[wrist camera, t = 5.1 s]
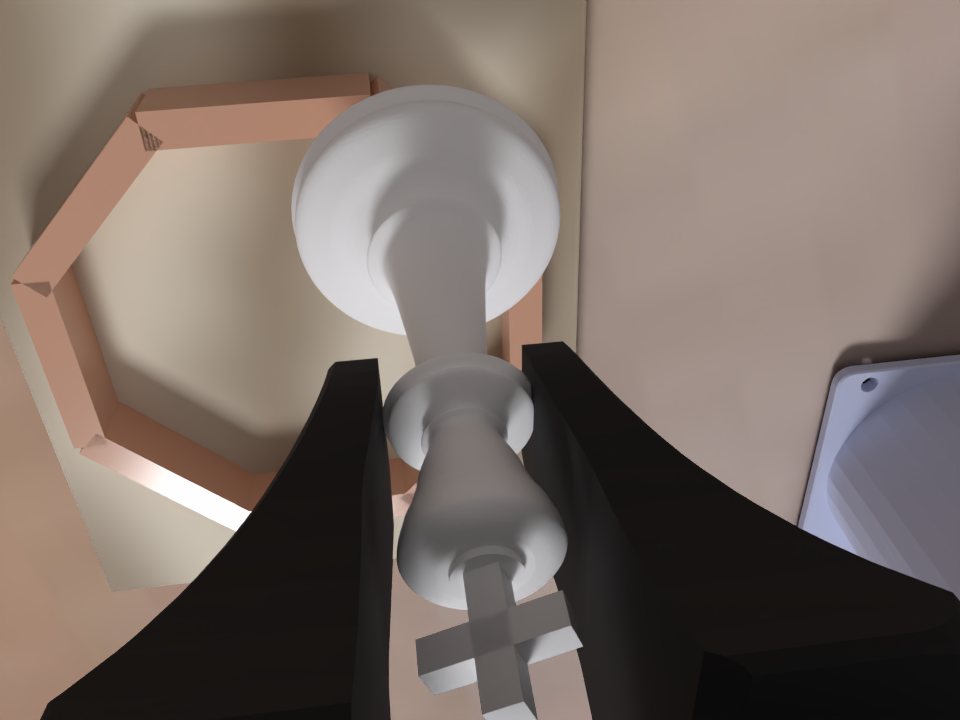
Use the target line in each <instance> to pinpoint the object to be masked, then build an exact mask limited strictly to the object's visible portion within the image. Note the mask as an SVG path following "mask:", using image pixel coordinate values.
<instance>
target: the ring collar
mask: <svg viewBox="0 0 960 720" xmlns="http://www.w3.org/2000/svg"><path fill="white" fill-rule="evenodd" d="M391 89H393V88H392V87H391V86H390V85H388V84H387V83H386V82H385V81H384V80H382V79H381V78H380V77H379V76H378V75H377V76H376V78H375V79H374V80H373V81H372V82H371V84H370V78H369V73H355V74H342V75H328V76H314V77H301V78H287V79H274V80H260V81H246V82H233V83H219V84H206V85H192V86H178V87H165V88H151V89H149V90H148V91H147V93H146V95H144V94H143V93H141V94H140V95H139V97H138V98H137V100H136V101H135V102H134V104H133V105H132V107H131V108H130V109H129V111H128V112H127V114H126V115H125V116H124V118H123V119H122V121H121V122H120V123H119V125H118V126H117V127H116V129H115V130H114V132H113V133H112V134H111V136H110V137H109V139H108V140H107V141H106V143H105V144H104V146H103V147H102V148H101V150H100V151H99V153H98V154H97V155H96V157H95V158H94V159H93V161H92V162H91V164H90V165H89V166H88V168H87V169H86V171H85V172H84V173H83V175H82V176H81V178H80V179H79V180H78V182H77V183H76V185H75V186H74V187H73V189H72V190H71V191H70V193H69V194H68V196H67V197H66V198H65V200H64V201H63V203H62V204H61V205H60V207H59V208H58V210H57V211H56V212H55V214H54V215H53V217H52V218H51V219H50V221H49V222H48V223H47V225H46V226H45V228H44V229H43V230H42V232H41V233H40V235H39V236H38V237H37V239H36V240H35V242H34V243H33V244H32V246H31V247H30V249H29V250H28V252H27V254H26V255H25V257H24V258H23V260H22V261H21V263H20V264H19V266H18V267H17V269H16V271H15V272H14V274H13V275H12V278H13V279H14V280H13V281H12V283H11V288H12V290H13V293H14V295H15V298H16V300H17V303H18V306H19V308H20V311H21V313H22V316H23V318H24V321H25V324H26V326H27V329H28V331H29V334H30V336H31V339H32V342H33V344H34V347H35V349H36V352H37V355H38V357H39V360H40V362H41V365H42V367H43V370H44V373H45V375H46V378H47V380H48V383H49V385H50V388H51V391H52V393H53V396H54V398H55V401H56V403H57V406H58V409H59V411H60V414H61V416H62V419H63V422H64V424H65V427H66V429H67V432H68V434H69V437H70V440H71V442H72V445H73V447H74V449H75V448H81V450H80V453H79V454H81V455H83V456H85V457H87V458H89V459H91V460H93V461H95V462H97V463H99V464H101V465H103V466H105V467H107V468H109V469H111V470H113V471H115V472H117V473H119V474H121V475H123V476H125V477H127V478H129V479H131V480H133V481H135V482H137V483H139V484H141V485H143V486H145V487H147V488H149V489H151V490H153V491H155V492H158V493H160V494H162V495H164V496H166V497H168V498H170V499H172V500H174V501H176V502H178V503H180V504H182V505H184V506H186V507H188V508H190V509H192V510H194V511H196V512H198V513H200V514H202V515H204V516H206V517H208V518H210V519H212V520H214V521H216V522H218V523H220V524H222V525H224V526H226V527H228V528H230V529H232V530H234V531H237V530H238V528H239V527H240V526H241V524H242V523H243V522H244V521H245V519H246V518H247V517H248V515H249V514H250V513H251V511H252V510H253V508H254V507H255V506H256V504H257V503H258V501H259V500H260V499H261V497H262V496H263V494H264V493H265V491H266V490H267V488H268V486H269V485H270V483H271V482H272V480H273V479H274V477H275V476H276V474H277V472H278V471H275V472H266V473H257V474H253V473H251V472H250V471H248V470H246V469H244V468H242V467H240V466H238V465H236V464H235V463H233V462H231V461H229V460H227V459H225V458H223V457H222V456H220V455H218V454H216V453H214V452H212V451H210V450H208V449H207V448H205V447H203V446H201V445H199V444H197V443H195V442H194V441H192V440H190V439H188V438H186V437H184V436H182V435H180V434H179V433H177V432H175V431H173V430H171V429H169V428H167V427H166V426H164V425H162V424H160V423H158V422H156V421H154V420H152V419H151V418H149V417H147V416H145V415H143V414H141V413H139V412H137V411H136V410H134V409H132V408H130V407H128V406H126V405H124V404H123V403H121V402H119V401H118V399H117V396H116V394H115V391H114V388H113V385H112V382H111V379H110V376H109V373H108V370H107V367H106V364H105V361H104V358H103V355H102V352H101V349H100V346H99V343H98V340H97V337H96V334H95V331H94V328H93V325H92V322H91V319H90V317H89V314H88V311H87V308H86V305H85V302H84V299H83V296H82V293H81V290H80V287H79V284H78V281H77V278H76V275H75V272H74V269H73V266H72V263H73V262H74V261H75V259H76V258H77V257H78V255H79V254H80V253H81V251H82V250H83V249H84V247H85V246H86V245H87V243H88V242H89V241H90V239H91V238H92V237H93V235H94V234H95V233H96V231H97V230H98V228H99V227H100V226H101V224H102V223H103V222H104V220H105V219H106V218H107V216H108V215H109V214H110V212H111V211H112V210H113V208H114V207H115V206H116V204H117V203H118V202H119V200H120V199H121V198H122V196H123V195H124V194H125V192H126V191H127V190H128V188H129V187H130V186H131V184H132V183H133V182H134V180H135V179H136V178H137V176H138V175H139V174H140V172H141V171H142V170H143V168H144V167H145V166H146V164H147V163H148V162H149V160H150V159H151V158H152V156H153V155H154V154H155V152H156V151H157V150H168V149H181V148H194V147H206V146H219V145H232V144H244V143H257V142H270V141H282V140H295V139H308V138H316V137H317V136H318V135H319V133H320V132H321V131H322V130H323V129H324V128H325V127H326V126H327V125H328V124H329V123H330V122H331V121H332V120H333V119H335V118H336V117H337V116H338V115H340V114H341V113H342V112H344V111H345V110H346V109H348V108H349V107H351V106H353V105H354V104H356V103H358V102H360V101H362V100H364V99H366V98H368V97H370V96H373V95H375V94H378V93H381V92H384V91H387V90H391ZM501 338H502V359H503V360H505V361H507V362H509V363H511V364H512V365H514V366H515V367H517V368H518V369H519V370H520V371H522V345H527V344H538V343H542V276H541V277H540V279H539V280H538V281H537V283H536V284H535V285H534V286H533V288H532V289H531V290H530V291H529V292H528V293H527V294H526V295H525V296H524V297H523V298H522V299H521V300H520V301H519V302H517V303H516V304H515V305H514V306H512V307H511V308H510V309H508V310H507V311H505V312H504V313H502V314H501ZM389 464H390V477H391V491H392V505H393V517H398V516H405V515H406V512H407V510H408V508H409V506H410V505H411V502H412V499H413V496H414V493H415V490H416V487H417V481H418V475H419V472H420V471H419V470H417V469H415V468H413V467H412V466H410V465H409V464H407V463H406V462H405V461H403V460H402V459H401V458H394V459H389Z"/></svg>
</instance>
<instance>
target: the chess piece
mask: <svg viewBox="0 0 960 720" xmlns="http://www.w3.org/2000/svg"><path fill="white" fill-rule="evenodd" d="M291 212H292V223H293V229H294V233H295V237H296V242H297V247H298V250H299V254H300V257H301V260H302V262H303V264H304V267H305V269H306V271H307V273H308V274H309V276H310V278H311V279H312V281H313V282H314V284H315V285H316V287H317V288H318V289H319V290H320V292H321V293H322V294H323V295H324V296H325V297H326V298H327V299H328V300H329V301H330V302H331V303H332V304H333V305H335V306H336V307H337V308H338V309H340V310H341V311H342V312H344V313H345V314H347V315H348V316H350V317H352V318H353V319H355V320H357V321H359V322H361V323H363V324H365V325H368V326H370V327H373V328H376V329H379V330H382V331H386V332H389V333H394V334H400V335H407V338H408V342H409V345H410V348H411V351H412V355H413V358H414V362H415V367H414V368H412V369H411V370H409V371H408V372H407V373H406V374H404V375H403V376H402V377H401V378H400V379H399V380H398V381H397V382H396V383H395V384H394V386H393V387H392V388H391V390H390V392H389V394H388V395H387V398H386V400H385V403H384V406H383V412H382V418H383V427H384V431H385V434H386V436H387V438H388V440H389V441H390V443H391V445H392V447H393V449H394V451H395V452H396V453H397V454H398V456H399V457H400V458H401V459H402V460H403V461H405V462H406V463H407V464H409V465H410V466H412V467H413V468H415V469H417V470H419V471H420V472H419V475H418V481H417V487H416V490H415V493H414V496H413V499H412V502H411V505H410V506H409V508H408V510H407V512H406V515H405V518H404V521H403V524H402V528H401V531H400V535H399V539H398V544H397V565H398V569H399V572H400V574H401V576H402V578H403V579H404V581H405V582H406V584H407V585H408V586H409V587H410V588H411V589H412V590H413V591H414V592H415V593H417V594H418V595H420V596H421V597H423V598H424V599H426V600H428V601H430V602H433V603H435V604H438V605H441V606H445V607H448V608H454V609H462V610H468V616H469V622H467V623H464V624H461V625H458V626H455V627H452V628H449V629H446V630H443V631H440V632H437V633H434V634H432V635H429V636H426V637H423V638H420V639H417V640H416V652H417V664H418V676H419V678H420V679H421V680H422V681H423V682H424V683H425V685H426V686H427V687H428V688H429V689H430V690H431V692H432V693H433V694H434V695H438V694H441V693H444V692H447V691H450V690H453V689H456V688H459V687H462V686H465V685H468V684H471V683H474V682H477V681H478V688H479V696H480V703H481V710H482V715H483V716H484V718H485V719H486V720H538V719H537V714H536V708H535V703H534V698H533V693H532V687H531V682H530V677H529V671H528V666H527V665H529V664H532V663H535V662H538V661H541V660H544V659H547V658H550V657H553V656H556V655H559V654H562V653H565V652H568V651H571V650H574V649H577V648H580V647H583V644H582V640H581V635H580V631H579V627H578V623H577V619H576V615H575V611H574V610H573V608H572V606H571V604H570V602H569V601H568V599H567V597H566V595H565V594H564V592H563V590H561V591H558V592H555V593H552V594H549V595H546V596H543V597H540V598H537V599H534V600H532V601H529V602H526V603H523V604H520V605H517V606H516V603H515V602H516V601H518V600H521V599H523V598H525V597H527V596H529V595H530V594H532V593H534V592H535V591H537V590H538V589H540V588H541V587H542V586H543V585H545V584H546V583H547V582H548V581H549V580H550V579H551V578H552V577H553V576H554V575H555V573H556V572H557V571H558V569H559V568H560V566H561V564H562V563H563V560H564V558H565V555H566V552H567V546H568V536H567V531H566V527H565V524H564V522H563V519H562V517H561V516H560V514H559V512H558V510H557V509H556V507H555V506H554V504H553V503H552V502H551V500H550V499H549V497H548V496H547V494H546V493H545V492H544V491H543V489H542V488H541V487H540V486H539V485H538V484H536V483H535V481H534V480H533V479H532V478H531V476H530V475H529V474H528V472H527V471H526V469H525V468H524V466H523V464H522V462H521V460H520V459H519V457H518V456H517V454H518V453H519V452H520V451H521V450H522V448H523V447H524V446H525V445H526V443H527V442H528V440H529V438H530V437H531V434H532V432H533V421H534V404H533V401H532V387H531V382H530V381H529V379H528V378H527V377H526V376H525V375H524V373H523V372H522V371H520V370H519V369H518V368H517V367H515V366H514V365H512V364H511V363H509V362H507V361H505V360H503V359H500V358H498V357H495V356H491V355H487V344H486V322H488V321H490V320H492V319H494V318H496V317H497V316H499V315H501V314H502V313H504V312H505V311H507V310H508V309H510V308H511V307H512V306H514V305H515V304H516V303H517V302H519V301H520V300H521V299H522V298H523V297H524V296H525V295H526V294H527V293H528V292H529V291H530V290H531V289H532V288H533V286H534V285H535V284H536V283H537V281H538V280H539V279H540V277H541V276H542V274H543V272H544V271H545V269H546V267H547V266H548V264H549V261H550V259H551V257H552V255H553V252H554V249H555V246H556V243H557V239H558V234H559V228H560V201H559V193H558V183H557V178H556V174H555V170H554V167H553V164H552V161H551V159H550V156H549V154H548V152H547V150H546V148H545V147H544V145H543V143H542V142H541V140H540V139H539V137H538V136H537V134H536V133H535V132H534V131H533V130H532V128H531V127H530V126H529V125H528V124H527V123H526V122H525V121H524V120H523V119H522V118H521V117H519V116H518V115H517V114H516V113H515V112H513V111H512V110H511V109H509V108H508V107H506V106H504V105H503V104H501V103H499V102H498V101H496V100H494V99H492V98H490V97H488V96H485V95H483V94H480V93H477V92H474V91H471V90H467V89H464V88H459V87H454V86H447V85H433V84H431V85H412V86H405V87H399V88H395V89H391V90H387V91H384V92H381V93H378V94H375V95H373V96H370V97H368V98H366V99H364V100H362V101H360V102H358V103H356V104H354V105H353V106H351V107H349V108H348V109H346V110H345V111H344V112H342V113H341V114H340V115H338V116H337V117H336V118H335V119H333V120H332V121H331V122H330V123H329V124H328V125H327V126H326V127H325V128H324V129H323V130H322V131H321V132H320V133H319V135H318V136H317V137H316V138H315V140H314V141H313V142H312V144H311V145H310V147H309V148H308V150H307V152H306V154H305V155H304V157H303V159H302V161H301V164H300V166H299V169H298V171H297V174H296V178H295V182H294V186H293V192H292V202H291Z"/></svg>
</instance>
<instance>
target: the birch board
mask: <svg viewBox="0 0 960 720" xmlns="http://www.w3.org/2000/svg"><path fill="white" fill-rule="evenodd" d="M585 33H586V0H0V317H1V319H2V322H3V324H4V327H5V329H6V332H7V334H8V336H9V339H10V341H11V344H12V346H13V349H14V351H15V354H16V356H17V359H18V361H19V364H20V366H21V369H22V371H23V374H24V376H25V378H26V381H27V383H28V386H29V388H30V391H31V393H32V396H33V398H34V401H35V403H36V406H37V408H38V411H39V413H40V416H41V418H42V420H43V423H44V425H45V428H46V430H47V433H48V435H49V438H50V440H51V443H52V445H53V448H54V450H55V453H56V455H57V458H58V460H59V462H60V465H61V467H62V470H63V472H64V475H65V477H66V480H67V482H68V485H69V487H70V490H71V492H72V495H73V497H74V500H75V502H76V504H77V507H78V509H79V512H80V514H81V517H82V519H83V522H84V524H85V527H86V529H87V532H88V534H89V537H90V539H91V541H92V544H93V546H94V549H95V551H96V554H97V556H98V559H99V561H100V564H101V566H102V569H103V571H104V574H105V576H106V579H107V581H108V583H109V586H110V588H111V591H112V592H115V591H123V590H132V589H140V588H148V587H157V586H165V585H174V584H182V583H191V582H192V581H193V580H194V579H195V578H196V577H197V576H198V575H199V574H200V573H201V572H202V571H203V569H204V568H205V567H206V566H207V565H208V564H209V563H210V562H211V560H212V559H213V558H214V557H215V556H216V555H217V554H218V553H219V551H220V550H221V549H222V548H223V547H224V546H225V545H226V543H227V542H228V541H229V540H230V538H231V537H232V536H233V535H234V533H235V532H236V531H234V530H232V529H230V528H228V527H226V526H224V525H222V524H220V523H218V522H216V521H214V520H212V519H210V518H208V517H206V516H204V515H202V514H200V513H198V512H196V511H194V510H192V509H190V508H188V507H186V506H184V505H182V504H180V503H178V502H176V501H174V500H172V499H170V498H168V497H166V496H164V495H162V494H160V493H158V492H155V491H153V490H151V489H149V488H147V487H145V486H143V485H141V484H139V483H137V482H135V481H133V480H131V479H129V478H127V477H125V476H123V475H121V474H119V473H117V472H115V471H113V470H111V469H109V468H107V467H105V466H103V465H101V464H99V463H97V462H95V461H93V460H91V459H89V458H87V457H85V456H83V455H81V454H79V453H80V450H81V448H75V449H74V447H73V445H72V442H71V440H70V437H69V434H68V432H67V429H66V427H65V424H64V422H63V419H62V416H61V414H60V411H59V409H58V406H57V403H56V401H55V398H54V396H53V393H52V391H51V388H50V385H49V383H48V380H47V378H46V375H45V373H44V370H43V367H42V365H41V362H40V360H39V357H38V355H37V352H36V349H35V347H34V344H33V342H32V339H31V336H30V334H29V331H28V329H27V326H26V324H25V321H24V318H23V316H22V313H21V311H20V308H19V306H18V303H17V300H16V298H15V295H14V293H13V290H12V288H11V283H12V281H13V280H14V279H13V278H12V275H13V274H14V272H15V271H16V269H17V267H18V266H19V264H20V263H21V261H22V260H23V258H24V257H25V255H26V254H27V252H28V250H29V249H30V247H31V246H32V244H33V243H34V242H35V240H36V239H37V237H38V236H39V235H40V233H41V232H42V230H43V229H44V228H45V226H46V225H47V223H48V222H49V221H50V219H51V218H52V217H53V215H54V214H55V212H56V211H57V210H58V208H59V207H60V205H61V204H62V203H63V201H64V200H65V198H66V197H67V196H68V194H69V193H70V191H71V190H72V189H73V187H74V186H75V185H76V183H77V182H78V180H79V179H80V178H81V176H82V175H83V173H84V172H85V171H86V169H87V168H88V166H89V165H90V164H91V162H92V161H93V159H94V158H95V157H96V155H97V154H98V153H99V151H100V150H101V148H102V147H103V146H104V144H105V143H106V141H107V140H108V139H109V137H110V136H111V134H112V133H113V132H114V130H115V129H116V127H117V126H118V125H119V123H120V122H121V121H122V119H123V118H124V116H125V115H126V114H127V112H128V111H129V109H130V108H131V107H132V105H133V104H134V102H135V101H136V100H137V98H138V97H139V95H140V94H141V93H143V94H144V95H146V93H147V91H148V90H149V89H151V88H165V87H178V86H192V85H206V84H219V83H233V82H246V81H260V80H274V79H287V78H301V77H314V76H328V75H342V74H355V73H369V78H370V84H371V82H372V81H373V80H374V79H375V78H376V76H377V75H378V76H379V77H380V78H381V79H382V80H384V81H385V82H386V83H387V84H388V85H390V86H391V87H392V88H393V89H395V88H399V87H405V86H412V85H431V84H433V85H447V86H454V87H459V88H464V89H467V90H471V91H474V92H477V93H480V94H483V95H485V96H488V97H490V98H492V99H494V100H496V101H498V102H499V103H501V104H503V105H504V106H506V107H508V108H509V109H511V110H512V111H513V112H515V113H516V114H517V115H518V116H519V117H521V118H522V119H523V120H524V121H525V122H526V123H527V124H528V125H529V126H530V127H531V128H532V130H533V131H534V132H535V133H536V134H537V136H538V137H539V139H540V140H541V142H542V143H543V145H544V147H545V148H546V150H547V152H548V154H549V156H550V159H551V161H552V164H553V167H554V170H555V174H556V178H557V183H558V193H559V201H560V228H559V234H558V239H557V243H556V246H555V249H554V252H553V255H552V257H551V259H550V261H549V264H548V266H547V267H546V269H545V271H544V272H543V274H542V343H549V342H560V341H563V342H564V343H566V344H567V345H568V346H569V347H570V348H571V349H572V350H573V351H574V352H575V353H576V333H577V299H578V266H579V233H580V200H581V166H582V133H583V100H584V66H585ZM314 140H315V138H308V139H295V140H282V141H270V142H257V143H244V144H232V145H219V146H206V147H194V148H181V149H168V150H157V151H156V152H155V154H154V155H153V156H152V158H151V159H150V160H149V162H148V163H147V164H146V166H145V167H144V168H143V170H142V171H141V172H140V174H139V175H138V176H137V178H136V179H135V180H134V182H133V183H132V184H131V186H130V187H129V188H128V190H127V191H126V192H125V194H124V195H123V196H122V198H121V199H120V200H119V202H118V203H117V204H116V206H115V207H114V208H113V210H112V211H111V212H110V214H109V215H108V216H107V218H106V219H105V220H104V222H103V223H102V224H101V226H100V227H99V228H98V230H97V231H96V233H95V234H94V235H93V237H92V238H91V239H90V241H89V242H88V243H87V245H86V246H85V247H84V249H83V250H82V251H81V253H80V254H79V255H78V257H77V258H76V259H75V261H74V262H73V263H72V266H73V269H74V272H75V275H76V278H77V281H78V284H79V287H80V290H81V293H82V296H83V299H84V302H85V305H86V308H87V311H88V314H89V317H90V319H91V322H92V325H93V328H94V331H95V334H96V337H97V340H98V343H99V346H100V349H101V352H102V355H103V358H104V361H105V364H106V367H107V370H108V373H109V376H110V379H111V382H112V385H113V388H114V391H115V394H116V396H117V399H118V401H119V402H121V403H123V404H124V405H126V406H128V407H130V408H132V409H134V410H136V411H137V412H139V413H141V414H143V415H145V416H147V417H149V418H151V419H152V420H154V421H156V422H158V423H160V424H162V425H164V426H166V427H167V428H169V429H171V430H173V431H175V432H177V433H179V434H180V435H182V436H184V437H186V438H188V439H190V440H192V441H194V442H195V443H197V444H199V445H201V446H203V447H205V448H207V449H208V450H210V451H212V452H214V453H216V454H218V455H220V456H222V457H223V458H225V459H227V460H229V461H231V462H233V463H235V464H236V465H238V466H240V467H242V468H244V469H246V470H248V471H250V472H251V473H253V474H257V473H266V472H275V471H279V469H280V468H281V466H282V465H283V463H284V461H285V460H286V458H287V456H288V455H289V453H290V451H291V449H292V448H293V446H294V444H295V442H296V440H297V438H298V436H299V435H300V433H301V431H302V429H303V427H304V425H305V423H306V422H307V420H308V418H309V416H310V413H311V411H312V409H313V407H314V405H315V403H316V401H317V398H318V396H319V394H320V391H321V389H322V386H323V384H324V381H325V378H326V375H327V372H328V369H329V368H330V367H331V366H332V365H333V364H334V363H335V362H338V361H349V360H360V359H371V358H378V365H379V374H380V383H381V392H382V401H383V406H384V403H385V400H386V398H387V395H388V394H389V392H390V390H391V388H392V387H393V386H394V384H395V383H396V382H397V381H398V380H399V379H400V378H401V377H402V376H403V375H404V374H406V373H407V372H408V371H409V370H411V369H412V368H414V367H415V362H414V358H413V355H412V351H411V348H410V345H409V342H408V338H407V335H400V334H394V333H389V332H386V331H382V330H379V329H376V328H373V327H370V326H368V325H365V324H363V323H361V322H359V321H357V320H355V319H353V318H352V317H350V316H348V315H347V314H345V313H344V312H342V311H341V310H340V309H338V308H337V307H336V306H335V305H333V304H332V303H331V302H330V301H329V300H328V299H327V298H326V297H325V296H324V295H323V294H322V293H321V292H320V290H319V289H318V288H317V287H316V285H315V284H314V282H313V281H312V279H311V278H310V276H309V274H308V273H307V271H306V269H305V267H304V264H303V262H302V260H301V257H300V254H299V250H298V247H297V242H296V237H295V233H294V229H293V223H292V212H291V202H292V192H293V186H294V182H295V178H296V174H297V171H298V169H299V166H300V164H301V161H302V159H303V157H304V155H305V154H306V152H307V150H308V148H309V147H310V145H311V144H312V142H313V141H314ZM486 344H487V355H491V356H495V357H498V358H500V359H502V338H501V315H499V316H497V317H496V318H494V319H492V320H490V321H488V322H486ZM386 437H387V436H386ZM387 446H388V455H389V459H394V458H400V457H399V456H398V454H397V453H396V452H395V451H394V449H393V447H392V445H391V443H390V441H389V440H388V438H387ZM517 456H518V457H519V459H520V460H521V462H522V464H523V466H524V463H523V458H522V450H521V451H520V452H519V453H518V454H517ZM404 518H405V516H398V517H393V519H394V540H393V559H394V558H397V544H398V539H399V535H400V531H401V528H402V524H403V521H404Z"/></svg>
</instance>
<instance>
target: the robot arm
mask: <svg viewBox="0 0 960 720" xmlns="http://www.w3.org/2000/svg"><path fill="white" fill-rule="evenodd" d="M522 372H523V373H524V375H525V376H526V377H527V378H528V379H529V381H530V382H531V387H532V401H533V404H534V421H533V432H532V434H531V437H530V438H529V440H528V442H527V443H526V445H525V446H524V447H523V448H522V458H523V463H524V468H525V469H526V471H527V472H528V474H529V475H530V476H531V478H532V479H533V480H534V481H535V483H536V484H538V485H539V486H540V487H541V488H542V489H543V491H544V492H545V493H546V494H547V496H548V497H549V499H550V500H551V502H552V503H553V504H554V506H555V507H556V509H557V510H558V512H559V514H560V516H561V517H562V519H563V522H564V524H565V527H566V531H567V536H568V546H567V552H566V555H565V558H564V560H563V563H562V564H561V566H560V568H559V569H558V571H557V572H556V573H555V575H554V579H555V582H556V585H557V588H558V591H561V590H563V592H564V594H565V595H566V597H567V599H568V601H569V602H570V604H571V606H572V608H573V610H574V611H575V615H576V619H577V623H578V627H579V631H580V635H581V640H582V644H583V647H580V648H577V652H578V656H579V660H580V663H581V668H582V672H583V677H584V682H585V686H586V691H587V696H588V700H589V705H590V710H591V714H592V719H593V720H960V355H951V356H942V357H932V358H923V359H913V360H904V361H894V362H885V363H875V364H866V365H856V366H849V367H846V368H843V369H842V370H840V371H839V372H838V373H837V374H836V375H835V376H834V378H833V380H832V383H831V387H830V391H829V396H828V400H827V404H826V409H825V413H824V417H823V421H822V426H821V430H820V434H819V439H818V443H817V447H816V451H815V456H814V460H813V464H812V469H811V473H810V477H809V481H808V486H807V490H806V494H805V498H804V503H803V507H802V511H801V516H800V520H799V524H798V527H797V526H795V525H793V524H791V523H789V522H788V521H786V520H784V519H782V518H780V517H779V516H777V515H775V514H773V513H771V512H770V511H768V510H766V509H764V508H763V507H761V506H759V505H757V504H755V503H754V502H752V501H751V500H749V499H747V498H746V497H744V496H742V495H741V494H739V493H737V492H736V491H734V490H733V489H731V488H730V487H728V486H727V485H725V484H724V483H722V482H721V481H719V480H718V479H716V478H715V477H714V476H712V475H711V474H709V473H708V472H706V471H705V470H703V469H702V468H700V467H699V466H698V465H696V464H695V463H693V462H692V461H691V460H689V459H688V458H687V457H685V456H684V455H683V454H681V453H680V452H679V451H678V450H677V449H675V448H674V447H673V446H672V445H670V444H669V443H668V442H667V441H666V440H664V439H663V438H662V437H661V436H660V435H658V434H657V433H656V432H655V431H654V430H653V429H652V428H650V427H649V426H648V425H647V424H646V423H645V422H644V421H643V420H642V419H640V418H639V417H638V416H637V415H636V414H635V413H634V412H633V411H632V410H631V409H630V408H629V407H628V406H626V405H625V404H624V403H623V402H622V401H621V400H620V399H619V398H618V397H617V396H616V395H615V394H614V393H613V392H612V391H611V390H610V389H609V388H608V387H607V386H606V385H605V384H604V383H603V382H602V381H601V380H600V379H599V378H598V377H597V376H596V375H595V374H594V373H593V372H592V370H591V369H590V368H589V367H588V366H587V365H586V364H585V363H584V362H583V361H582V360H581V359H580V358H579V357H578V355H577V354H576V353H575V352H574V351H573V350H572V349H571V348H570V347H569V346H568V345H567V344H566V343H564V342H563V341H560V342H549V343H538V344H527V345H522ZM868 378H870V380H869V381H868V382H866V383H864V384H862V383H863V382H864V381H865V380H866V379H868ZM382 412H383V401H382V392H381V383H380V374H379V365H378V358H371V359H360V360H349V361H338V362H335V363H334V364H333V365H332V366H331V367H330V368H329V369H328V372H327V375H326V378H325V381H324V384H323V386H322V389H321V391H320V394H319V396H318V398H317V401H316V403H315V405H314V407H313V409H312V411H311V413H310V416H309V418H308V420H307V422H306V423H305V425H304V427H303V429H302V431H301V433H300V435H299V436H298V438H297V440H296V442H295V444H294V446H293V448H292V449H291V451H290V453H289V455H288V456H287V458H286V460H285V461H284V463H283V465H282V466H281V468H280V469H279V471H278V472H277V474H276V476H275V477H274V479H273V480H272V482H271V483H270V485H269V486H268V488H267V490H266V491H265V493H264V494H263V496H262V497H261V499H260V500H259V501H258V503H257V504H256V506H255V507H254V508H253V510H252V511H251V513H250V514H249V515H248V517H247V518H246V519H245V521H244V522H243V523H242V524H241V526H240V527H239V528H238V530H237V531H236V532H235V533H234V535H233V536H232V537H231V538H230V540H229V541H228V542H227V543H226V545H225V546H224V547H223V548H222V549H221V550H220V551H219V553H218V554H217V555H216V556H215V557H214V558H213V559H212V560H211V562H210V563H209V564H208V565H207V566H206V567H205V568H204V569H203V571H202V572H201V573H200V574H199V575H198V576H197V577H196V578H195V579H194V580H193V581H192V582H191V584H190V585H189V586H188V587H187V588H186V589H185V590H184V591H183V592H182V593H181V594H180V595H179V596H178V597H177V598H176V599H175V600H174V601H173V602H171V603H170V604H169V605H168V606H167V607H166V608H165V609H164V610H163V611H162V612H161V613H160V614H159V615H157V616H156V617H155V618H154V619H153V620H152V621H151V622H150V623H149V624H148V625H147V626H146V627H145V628H143V629H142V630H141V631H140V632H139V633H138V634H137V635H136V636H135V637H133V638H132V639H131V640H130V641H129V642H127V643H126V644H125V645H124V646H123V647H121V648H120V649H119V650H118V651H117V652H115V653H114V654H113V655H111V656H110V657H109V658H107V659H106V660H105V661H104V662H102V663H101V664H100V665H98V666H97V667H96V668H94V669H93V670H92V671H90V672H89V673H88V674H87V675H85V676H84V677H83V678H81V679H80V680H79V681H77V682H76V683H75V684H73V685H72V686H71V687H69V688H68V689H67V690H66V691H64V692H63V693H61V694H60V695H59V696H57V697H56V698H54V699H53V700H52V701H50V702H49V703H48V704H47V706H46V709H45V711H44V713H43V715H42V717H41V719H40V720H391V718H390V700H389V639H390V615H391V590H392V566H393V540H394V519H393V505H392V491H391V477H390V464H389V455H388V446H387V437H386V434H385V431H384V427H383V418H382Z"/></svg>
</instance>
